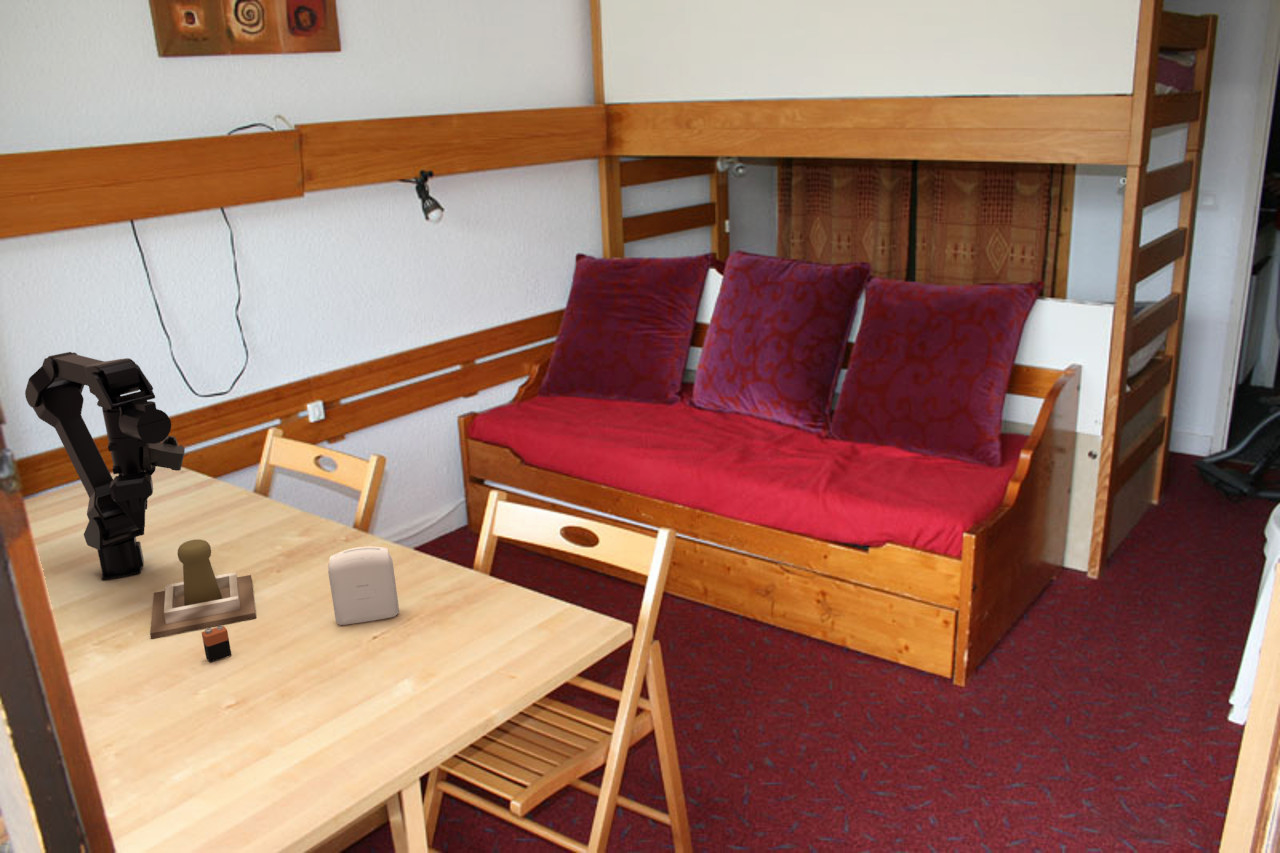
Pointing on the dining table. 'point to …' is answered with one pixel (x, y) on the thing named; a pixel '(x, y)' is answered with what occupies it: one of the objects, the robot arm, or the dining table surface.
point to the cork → (198, 573)
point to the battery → (216, 643)
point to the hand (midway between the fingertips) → (142, 518)
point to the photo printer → (363, 585)
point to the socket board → (202, 607)
